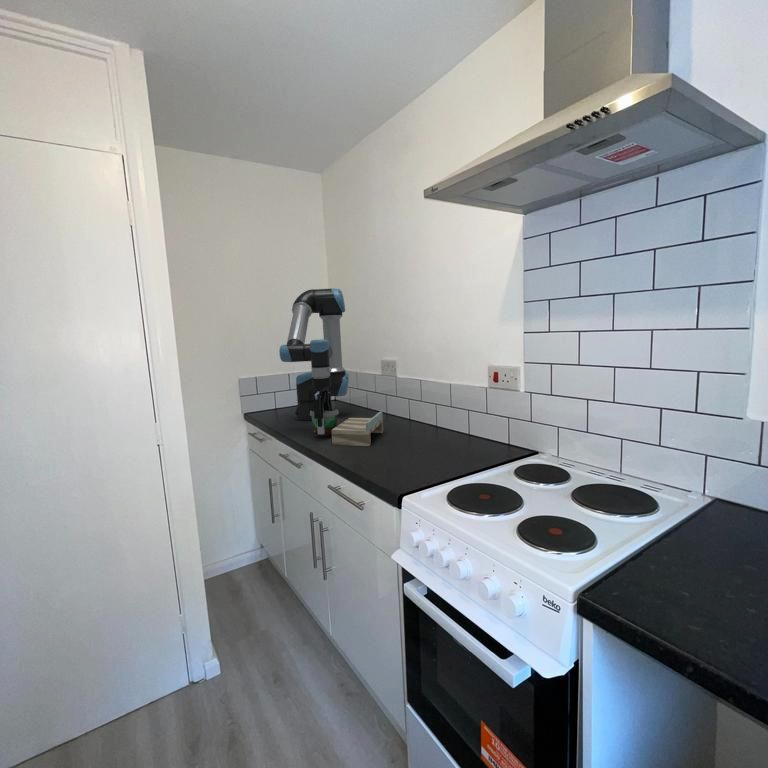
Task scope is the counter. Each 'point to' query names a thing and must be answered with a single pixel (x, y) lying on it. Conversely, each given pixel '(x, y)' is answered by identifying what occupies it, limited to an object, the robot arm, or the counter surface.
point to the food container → (326, 421)
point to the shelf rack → (357, 431)
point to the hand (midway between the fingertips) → (324, 431)
